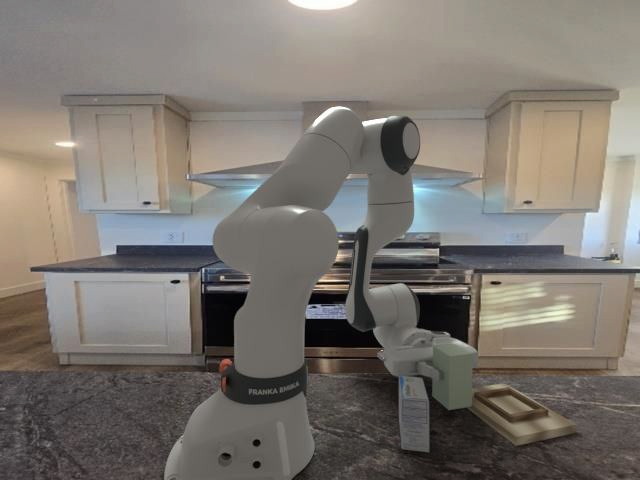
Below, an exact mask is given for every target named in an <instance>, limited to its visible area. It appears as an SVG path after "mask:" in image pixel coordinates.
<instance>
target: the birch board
mask: <svg viewBox="0 0 640 480" xmlns="http://www.w3.org/2000/svg"><path fill="white" fill-rule="evenodd" d="M465 408H467V409H468V410H469V411H470V412H472V413H473V414H474V415H475V416H476V417H478V418H480V419H481V420H482V421H483V422H484V423H486V424H487V425H488V426H489V427H490V428H492V429H494V430H495V432H498V434H500V435H501V436H502V437H504V438H505V439H506V440H507V441H508V442H510V443H511V444H512V445H514V446H515V447H517V446H522V445H526V444H530V443H535V442H540V441H545V440H549V439H555V438H558V437H563V436H567V435H573V434H576V433H577V424H576V423H574V422H572V421H571V420H570V419H568V418H566V417H564V416H563V415H561V414H559V413H558V412H555V411H554V410H552V409H550V408H548V407H547V406H545V405H543V404H541V403H539V402H538V401H536V399H535V400H534V399H533V398H531V397H530V396H527V395H526V394H524V393H522V392H520V391H519V390H517V389H515V388H514V387H512V386H510V385H508V384H507V383H498V384H491V385H485V386H478V387H472V406H471V407H465Z"/></svg>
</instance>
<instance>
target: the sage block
mask: <svg viewBox="0 0 640 480" xmlns="http://www.w3.org/2000/svg"><path fill="white" fill-rule="evenodd" d="M433 367H434V368H439V369H440V370H442V371H443V373H444V375H443V377H444V378H443V380H438V381H435V380H434V379H433V378H431V379H432V380H431V381H432V385H431V386H432V387H431V388H432V393H431V395H432V397H433V398H434V399H435V400H436V401H437V402H439V403H440V404H441V405H442V406H443V407H444V408H445V409H447V410H448V411H451V410H458V409H459V410H460V409H464V408H466V407H471V406H472V388H473V368H472V367H473V353H471V352H469V351H467V350H465V349H463V348H461V347H459V346H457V345H455V344H450V345H440V346H433Z"/></svg>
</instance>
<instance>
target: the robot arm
mask: <svg viewBox="0 0 640 480" xmlns="http://www.w3.org/2000/svg"><path fill="white" fill-rule="evenodd" d="M420 149H421V135H420V132H419V129H418V126H417V124H416V123H415V122H414V120H412V119H411V117H409V116H405V115H391V116H388V117H387V118H377V119H370V120H365V121H362V119H361V117H360V116H359V115H358V114H357V113H356V112H355V111H354V110H352V109H350V108H348V107H344V106H335V107H330V108H329V109H327V110H326V111H324V112H323V113H322V114H320V116H319V117H318V118H316V119H315V120H314V121H313V122H312V124H310V125H309V126H308V128H307V129H306V130H305V131H304V132H303V134H302V135H301V136H300V138H299V139H298V140H297V142H296V143H295V145H294V146H293V147H292V149H291V150H290V152H288V154H287V156H286V157H285V158H284V160H283V161H282V162H281V164H280V165H279V167H278V168H277V169H276V170H274V172H273V173H272V174H271V175H270V176H269V177H268V178H267V179H266V180H265V181H264V182H262V183H261V185H260V186H258V187H257V188H256V189H255V190H254V191H253V192H252V193H251V194H250V195H249V196H248V197H247V198H246V199H244V201H243V202H242V203H241V204H240V205H239V206H238V207H237V208H236V209H235V210H234V211H232V212H231V213H230V214H229V215H228V216H226V217H224V218H223V219H222V220H221V221H220V222H219V223H218V224H217V225H216V227H215V229H214V232H213V234H212V247H213V251H214V253H215V254H216V256H217V257H218V259H219V260H220V261H221V262H222V263H224V264H225V265H226V266H228V267H229V268H231V269H233V270H235V271H237V272H240V273H245V274H250V281H249V287H248V291H247V295H246V298H245V301H244V303H243V305H242V306H241V307H239V309H238V310H237V311H236V313H235V316H234V319H233V336H234V338H233V340H234V342H233V343H234V344H233V345H234V346H233V348H234V349H233V351H234V352H233V353H234V354H233V356H234V357H233V360H234V361H231V359H229V358H225V359H222V360H221V362H220V363H219V368H218V371H219V373H220V388H219V389H218V390H217V391H216V392H214V393H213V394H212V395H211V396H210V397H208V398H207V399H206V400H205V401H202V403H201V404H199V405H198V406H197V407H196V408H195V409H194V411H192V414H191V416H190V417H189V419H188V422H187V424H186V427H185V429H184V433H183V434H182V435H181V436H180V437H179V438H178V439H177V440H176V442H175V443H174V445H173V447H172V449H171V450H170V452H169V454H168V457H167V459H166V463H165V467H164V471H163V472H164V474H163V480H292V479H293V478H295V476H297V475H298V474H299V473H300V472H301V471H303V469H305V468H306V466H307V465H308V464H309V463H310V462H311V460H312V458H313V456H314V453H315V449H316V448H315V445H316V444H315V440H314V437H313V433H312V429H311V425H310V422H309V416H308V407H307V399H306V397H307V396H308V387H309V382H308V381H309V378H308V377H309V374H308V373H309V372H308V371H309V370H308V362H307V360H306V358H305V333H306V332H305V330H306V329H305V325H306V314H307V309H308V304H309V301H310V299H311V296H312V293H313V291H314V289H315V286H317V283H318V282H319V281H320V279H322V277H324V276H325V275H326V274H327V273H328V272H329V271H330V270H331V269H332V267H333V265H334V264H335V262H336V259H337V257H338V252H339V248H340V247H339V246H340V244H339V243H340V240H339V233H338V231H337V229H336V226H335V225H336V224H335V223H334V222H333V220H332V219H331V217H330V216H329V215H328V214H327V213H325V212H324V211H325V210H327V209H328V208H329V207H330V206H331V205H332V204H333V202H334V200H335V199H336V196H337V195H338V194H339V192H340V190H341V188H342V187H343V185H344V183H345V182H346V180H347V178H348V176H349V175H366V176H367V192H366V195H367V197H366V200H367V201H366V202H367V211H366V215H365V219H364V220H363V223H362V225H361V226H359V227H358V228H357V229H356V232H355V235H354V240H353V245H352V246H353V247H352V254H351V263H350V270H349V271H350V274H349V281H348V290H347V295H346V298H345V302H344V303H345V304H344V312H345V318H346V320H347V322H348V324H349V325H350V326H351V327H353V328H354V329H356V330H358V331H360V332H362V333H364V332H368V331H371V330H372V331H373V335H374V337H375V338H376V340H377V342H378V343H379V344H380V345H381V346H382V348H384V349H380V351H378V352H377V353H376V356H377V358H378V359H380V360H381V361H382V362H383V364H384V366H385V368H386V369H387V371H389V373H390V374H391V375H392V376H393V377H396V378H399V376H410V377H413V376H418V375H420V376H424V377H427V378H431V379H432V378H433V379H434V380H435V381H438V380H443V378H444V377H443V375H444V373H443V371H442V370H440V369H439V368H434V367H433V346H440V345H450V344H455V345H457V346H459V347H461V348H463V349H465V350H467V351H469V352H471V353H473V367H472V369H476V368H478V366H479V353H478V350H477V349H476V348H474V347H473V346H471V345H470V344H468V343H466V342H464V341H462V340H461V339H460V340H459V339H457V338H454V337H451V334H450V333H449V332H447V331H435V330H427V329H424V328H418V324H419V320H420V312H421V306H420V302H419V301H420V300H419V298H418V296H417V294H416V293H415V291H414V290H413V289H411V288H410V287H409V286H408V285H407V284H405V283H403V282H400V283H395V284H394V283H393V284H386V285H384V286H379V287H378V286H377V287H372V288H370V281H371V273H372V272H371V271H372V265H373V264H372V263H373V259H374V258H375V256H376V255H377V254H378V252H380V250H382V249H383V248H384V247H387V245H389V244H390V243H392V242H394V241H396V240H399V239H400V238H401V237H402V236H404V235H405V234H406V233H407V232H408V231H409V230H410V229H411V227H412V226H413V222H414V219H415V195H414V194H415V193H414V185H413V184H414V183H413V177H412V173H411V167H413V166H414V164H415V162H416V161H417V159H418V157H419V154H420Z"/></svg>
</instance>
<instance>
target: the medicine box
mask: <svg viewBox="0 0 640 480" xmlns="http://www.w3.org/2000/svg"><path fill="white" fill-rule="evenodd" d="M429 400H430V399H429V395H428V392H427V388H426V385H425V381H424V378H423V377H419V376H418V377H417V376H399V377H398V424H399V433H400V434H399V436H400V444H401V445H400V446H401V447H400V448H401V450H407V451H413V452H420V453H421V452H422V453H430V401H429Z"/></svg>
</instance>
